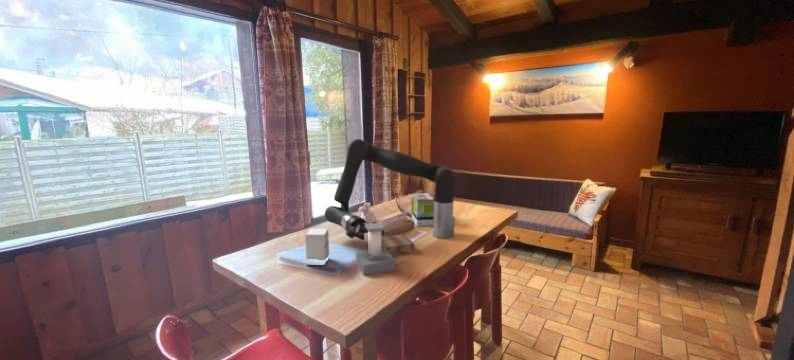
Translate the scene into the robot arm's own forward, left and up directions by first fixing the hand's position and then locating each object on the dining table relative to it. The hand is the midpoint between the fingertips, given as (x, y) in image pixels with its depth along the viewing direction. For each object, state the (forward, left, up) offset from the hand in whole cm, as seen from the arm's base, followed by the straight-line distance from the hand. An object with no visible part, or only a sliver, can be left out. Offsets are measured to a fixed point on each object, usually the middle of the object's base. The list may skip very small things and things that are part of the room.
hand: (373, 235), depth 122 cm
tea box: (-40, -43, -12) cm, 60 cm away
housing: (0, +1, -8) cm, 8 cm away
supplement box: (+20, -10, -12) cm, 25 cm away
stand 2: (-13, -12, -12) cm, 22 cm away
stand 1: (0, +1, -12) cm, 12 cm away
